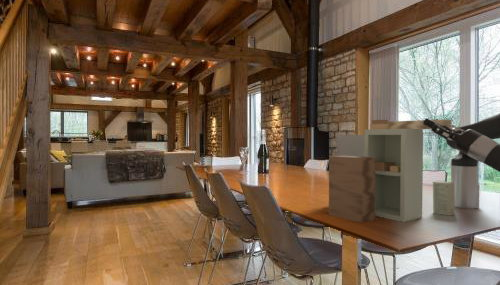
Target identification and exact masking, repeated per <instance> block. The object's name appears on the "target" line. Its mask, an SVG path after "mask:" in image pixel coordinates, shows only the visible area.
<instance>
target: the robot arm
mask: <svg viewBox="0 0 500 285" xmlns="http://www.w3.org/2000/svg"><path fill="white" fill-rule="evenodd" d="M423 120H424V122H423V124H424V125H426V126H428V127H430V128H431V129H430V131H431V132H432V133H435V134H437V135H438V136H440V137H441V138H443V139H444V140H445V142H446V144H447V145H448V147H450V148H451V149H454V150H457V151H458V154H457V155H456V156H454V157H452V158H451V161H450V162H451V164H450V166H451V167H450V182H454V206H455V208H458V209H459V208H460V209H469V210H470V209H478V208H480V184H478V162H479V163H482V164H485V165H486V166H488V167H490V168H492V169H493V170H495V171H497V172H499V173H500V143H499V142H497V141H495V140H496V139H497V140H498V139H500V113H497V114H494V115H492V116H490V117H487V118H484V119H482V120H479V121H477V122H474V123H470V124H466V125H463V126H455V125H454V124H451V127H449V126H447V125H440V124H438V123H436V122H434V121H432V120H433V119H430V118H424V119H423ZM434 120H439V119H437V118H436V119H434ZM437 128H439V129H437ZM445 128H446V129H445Z"/></svg>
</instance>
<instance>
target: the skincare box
mask: <svg viewBox="0 0 500 285" xmlns="http://www.w3.org/2000/svg"><path fill="white" fill-rule="evenodd" d="M432 205H433V206H432V207H433V208H432V210H433V214H438V215H443V216H452V215H455V213H456V212H455V210H456V207H455V206H454V182H451V181H444V180H441V181H440V180H436V181H432Z"/></svg>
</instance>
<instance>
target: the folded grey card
mask: <svg viewBox="0 0 500 285" xmlns="http://www.w3.org/2000/svg"><path fill="white" fill-rule="evenodd" d="M364 149H365V134H339V135H338V134H337V135H336V156H343V155H344V156H361V157H364Z"/></svg>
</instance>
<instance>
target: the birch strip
mask: <svg viewBox="0 0 500 285" xmlns="http://www.w3.org/2000/svg"><path fill="white" fill-rule="evenodd" d="M424 120H425V119H423V120H422V119H421V120H417V119H416V120H401V121H400V120H397V121H388V129H423V130H431V128H430V127H428V126H426V125H424V124H423V122H424ZM431 120H432V121H434V122H436V123H438V124H440V125H447V126H449V127H451V125H452V119H446V118H444V119H443V118H442V119H438V120H435V119H431ZM445 129H446V128H445ZM437 130H439V128H437Z"/></svg>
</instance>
